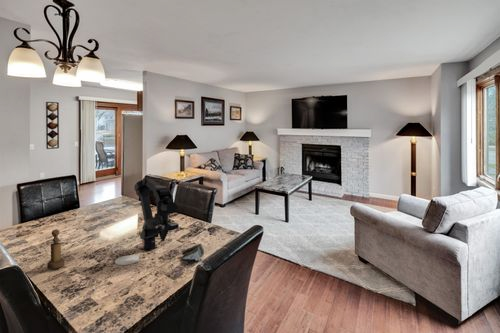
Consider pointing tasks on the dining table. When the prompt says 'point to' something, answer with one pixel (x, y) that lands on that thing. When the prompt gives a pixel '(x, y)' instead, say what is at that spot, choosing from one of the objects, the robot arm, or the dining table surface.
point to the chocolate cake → (193, 252)
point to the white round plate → (126, 260)
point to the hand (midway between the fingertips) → (162, 240)
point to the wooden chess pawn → (55, 252)
